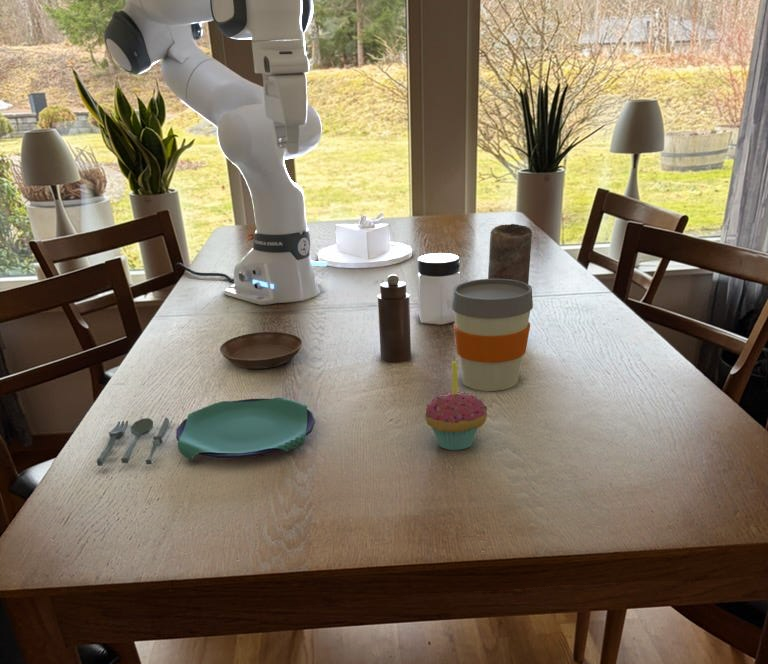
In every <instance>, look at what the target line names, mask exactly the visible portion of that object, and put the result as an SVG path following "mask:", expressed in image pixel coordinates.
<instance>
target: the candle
mask: <svg viewBox="0 0 768 664" xmlns="http://www.w3.org/2000/svg"><path fill="white" fill-rule="evenodd" d="M532 238H533V231H532V229H531V228H530V227H528V226H527V225H522V224H516V223H511V224H505V223H504V224H500V225H496V226H495V227H493V228H492V229H491V231H490V235H489V248H488V250H489V251H488V252H489V253H488V269H487V271H488V272H487V279H509V280H516V281H521V282H524V283H527V284H528V285H529V281H530V280H529V279H530V267H531V266H530V265H531V253H532Z"/></svg>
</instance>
